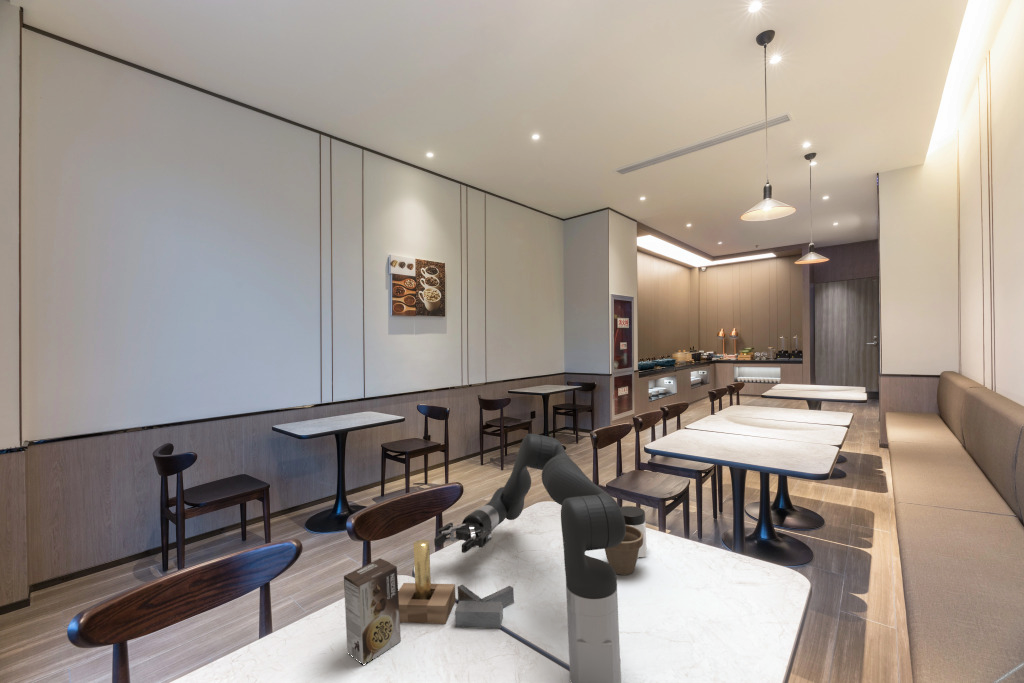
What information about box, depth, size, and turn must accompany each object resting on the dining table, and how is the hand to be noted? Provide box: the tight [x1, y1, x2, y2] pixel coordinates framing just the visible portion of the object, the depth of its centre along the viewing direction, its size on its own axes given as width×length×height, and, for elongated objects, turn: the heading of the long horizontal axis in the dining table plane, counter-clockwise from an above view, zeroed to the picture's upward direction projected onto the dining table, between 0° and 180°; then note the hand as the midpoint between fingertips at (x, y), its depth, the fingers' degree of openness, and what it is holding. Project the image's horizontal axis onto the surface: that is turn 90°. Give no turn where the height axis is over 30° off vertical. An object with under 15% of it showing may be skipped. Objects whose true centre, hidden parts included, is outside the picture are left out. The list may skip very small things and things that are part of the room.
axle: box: [413, 539, 432, 600], centre depth 104 cm, size 4×4×16 cm
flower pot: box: [604, 525, 643, 576], centre depth 119 cm, size 12×11×10 cm
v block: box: [454, 584, 515, 630], centre depth 103 cm, size 11×14×4 cm
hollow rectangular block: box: [398, 582, 457, 625], centre depth 104 cm, size 9×13×4 cm
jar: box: [619, 505, 648, 559], centre depth 129 cm, size 9×8×12 cm
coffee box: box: [343, 558, 402, 664], centre depth 92 cm, size 9×6×16 cm
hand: (449, 546), depth 114 cm, fingers open, 8 cm apart
